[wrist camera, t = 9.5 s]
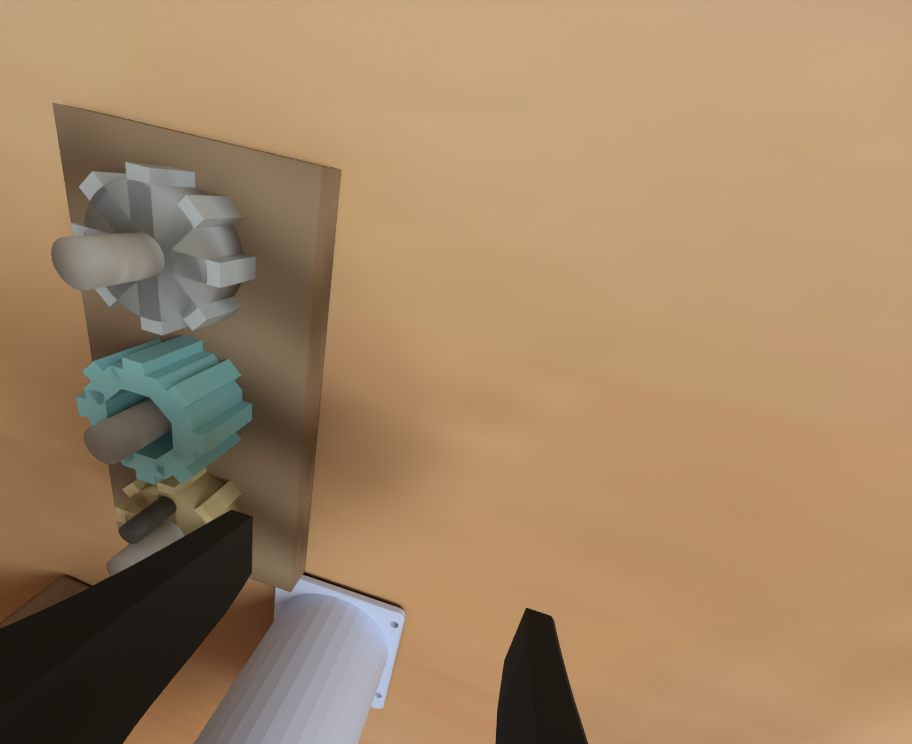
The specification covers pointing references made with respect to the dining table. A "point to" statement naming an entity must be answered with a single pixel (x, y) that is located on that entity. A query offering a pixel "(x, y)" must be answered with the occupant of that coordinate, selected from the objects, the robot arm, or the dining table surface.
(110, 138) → the gear board
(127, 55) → the dining table surface
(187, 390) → the teal gear
